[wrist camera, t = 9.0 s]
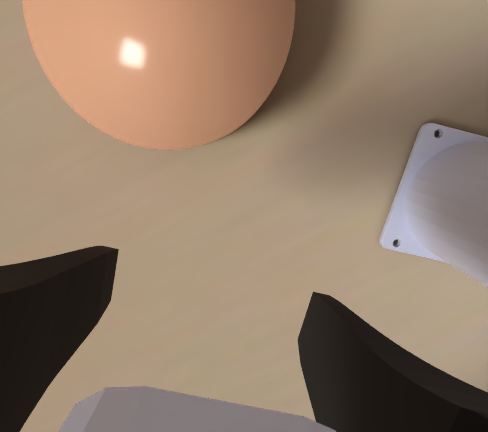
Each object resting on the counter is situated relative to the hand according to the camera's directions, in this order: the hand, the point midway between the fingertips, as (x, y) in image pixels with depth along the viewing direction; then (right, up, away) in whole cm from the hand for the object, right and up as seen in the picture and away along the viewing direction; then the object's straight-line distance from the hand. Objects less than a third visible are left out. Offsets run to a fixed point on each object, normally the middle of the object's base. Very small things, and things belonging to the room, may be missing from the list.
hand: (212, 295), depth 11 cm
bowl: (-3, +13, +6) cm, 15 cm away
